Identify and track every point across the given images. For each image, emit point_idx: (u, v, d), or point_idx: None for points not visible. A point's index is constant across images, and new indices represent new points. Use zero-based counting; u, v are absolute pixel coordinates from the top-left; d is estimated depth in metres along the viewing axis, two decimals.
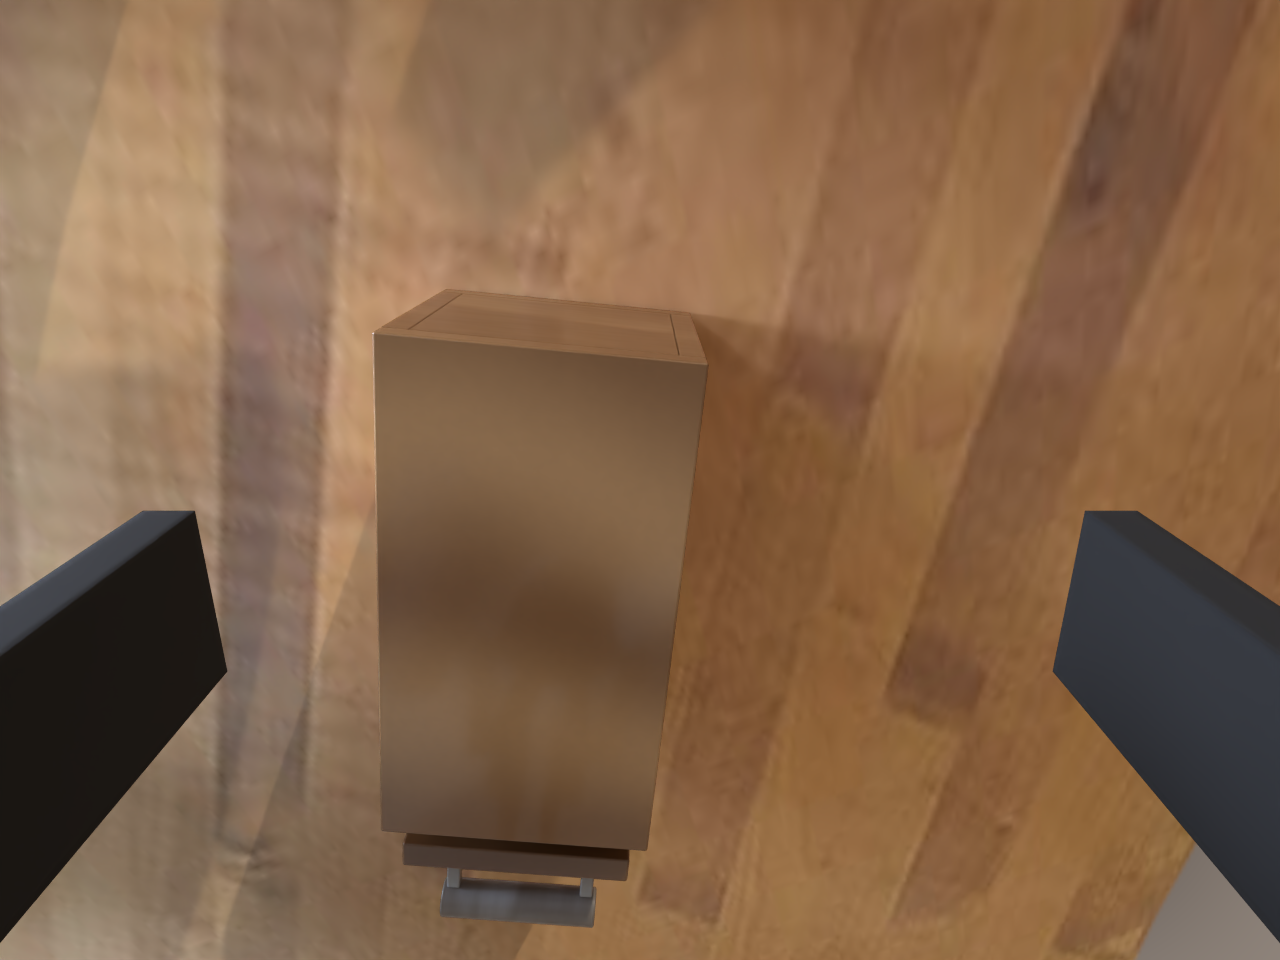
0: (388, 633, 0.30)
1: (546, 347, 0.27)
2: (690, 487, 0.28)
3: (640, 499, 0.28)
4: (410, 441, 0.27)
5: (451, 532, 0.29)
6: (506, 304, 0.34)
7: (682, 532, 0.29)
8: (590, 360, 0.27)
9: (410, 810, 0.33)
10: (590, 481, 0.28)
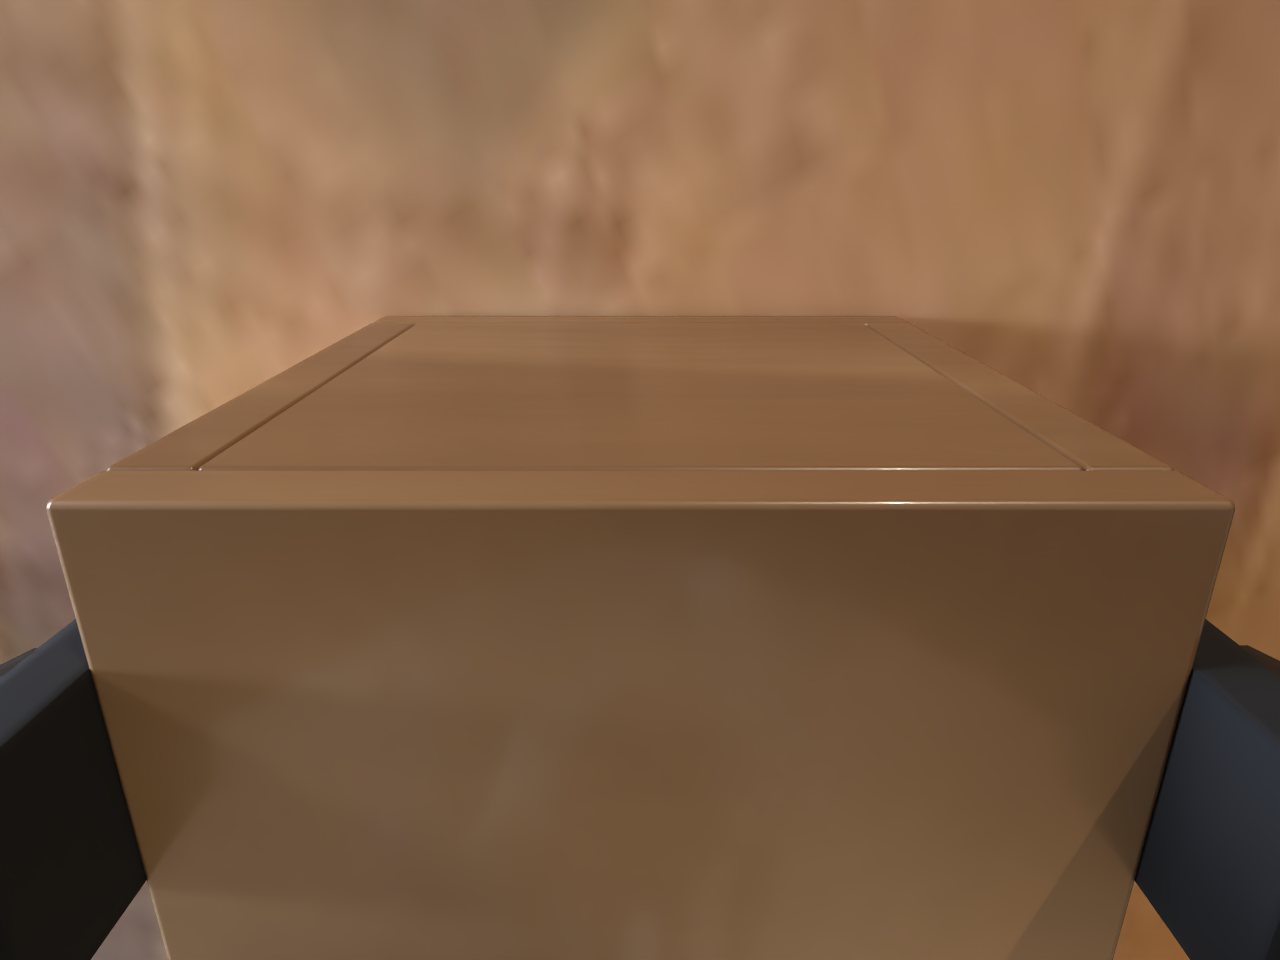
0: None
1: (656, 497, 0.08)
2: (1131, 871, 0.09)
3: (971, 914, 0.09)
4: (241, 817, 0.09)
5: None
6: (511, 339, 0.15)
7: None
8: (815, 529, 0.07)
9: None
10: (815, 880, 0.09)
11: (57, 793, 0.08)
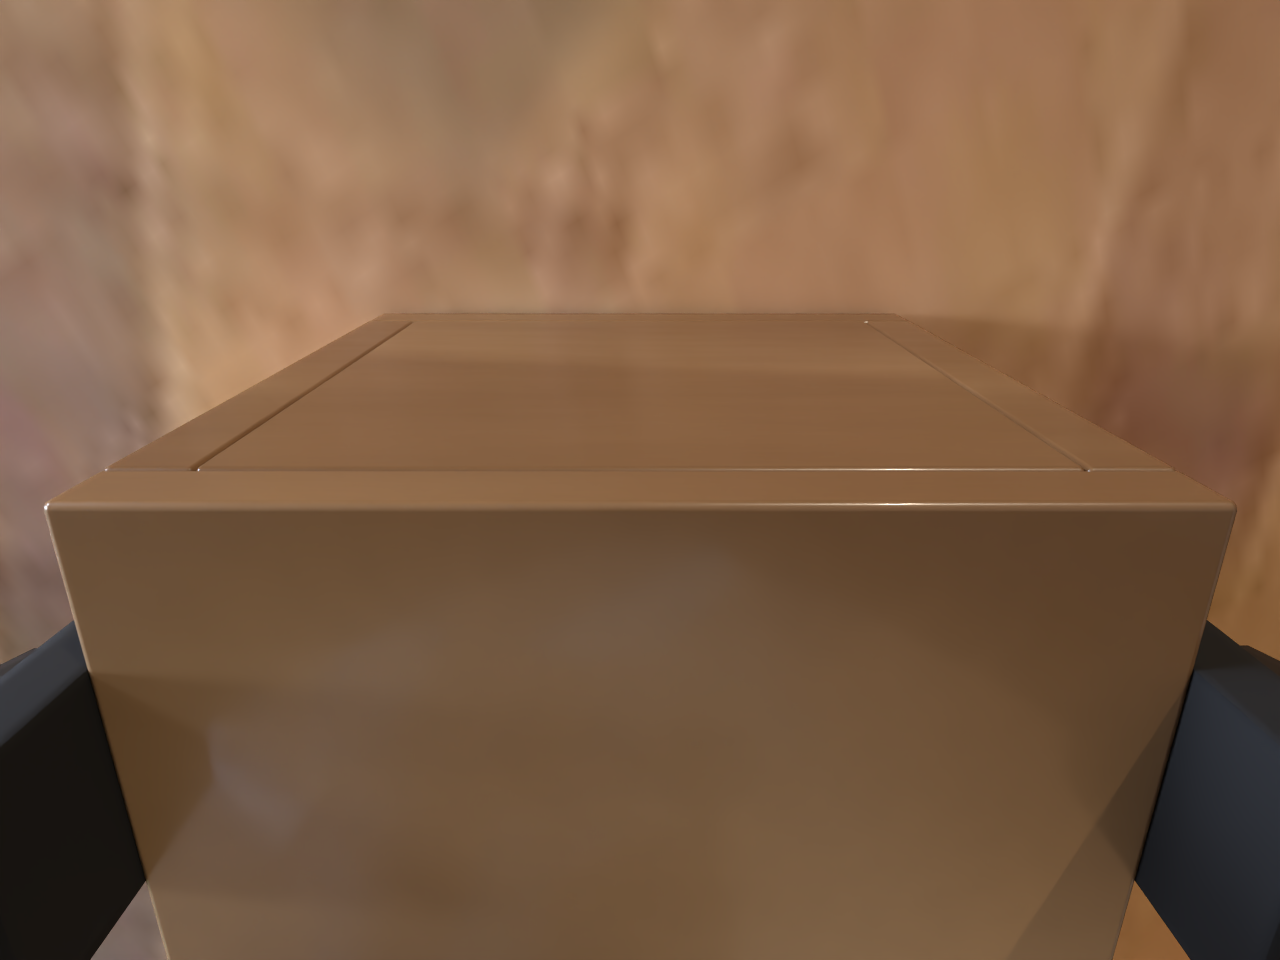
0: None
1: (657, 498, 0.07)
2: (1131, 871, 0.09)
3: (971, 914, 0.09)
4: (241, 818, 0.09)
5: None
6: (510, 337, 0.15)
7: None
8: (816, 530, 0.07)
9: None
10: (816, 880, 0.09)
11: (55, 794, 0.08)
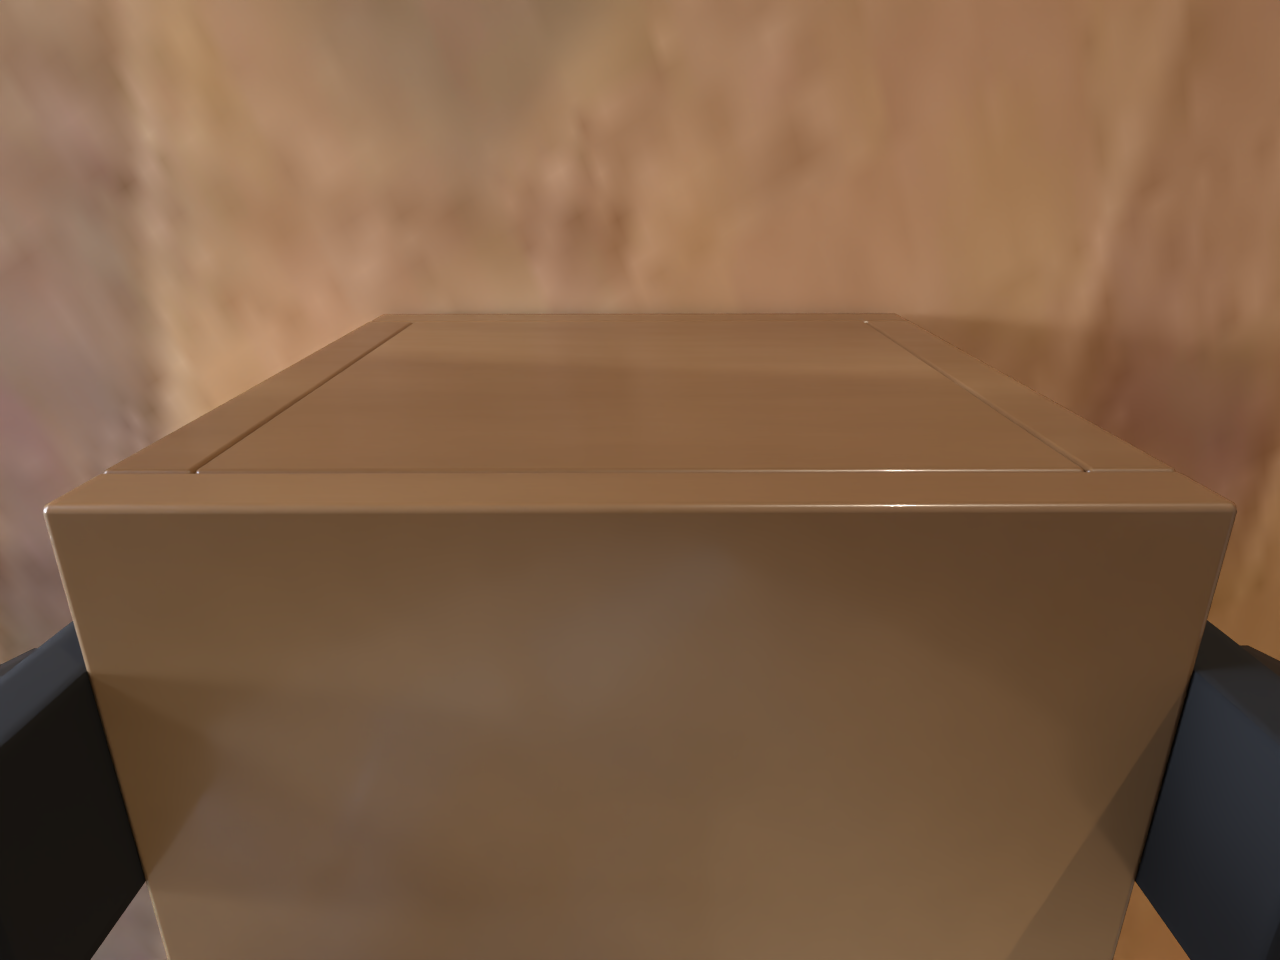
0: None
1: (656, 500, 0.07)
2: (1131, 872, 0.09)
3: (971, 915, 0.09)
4: (241, 820, 0.09)
5: None
6: (509, 337, 0.15)
7: None
8: (815, 531, 0.07)
9: None
10: (815, 882, 0.09)
11: (57, 793, 0.08)
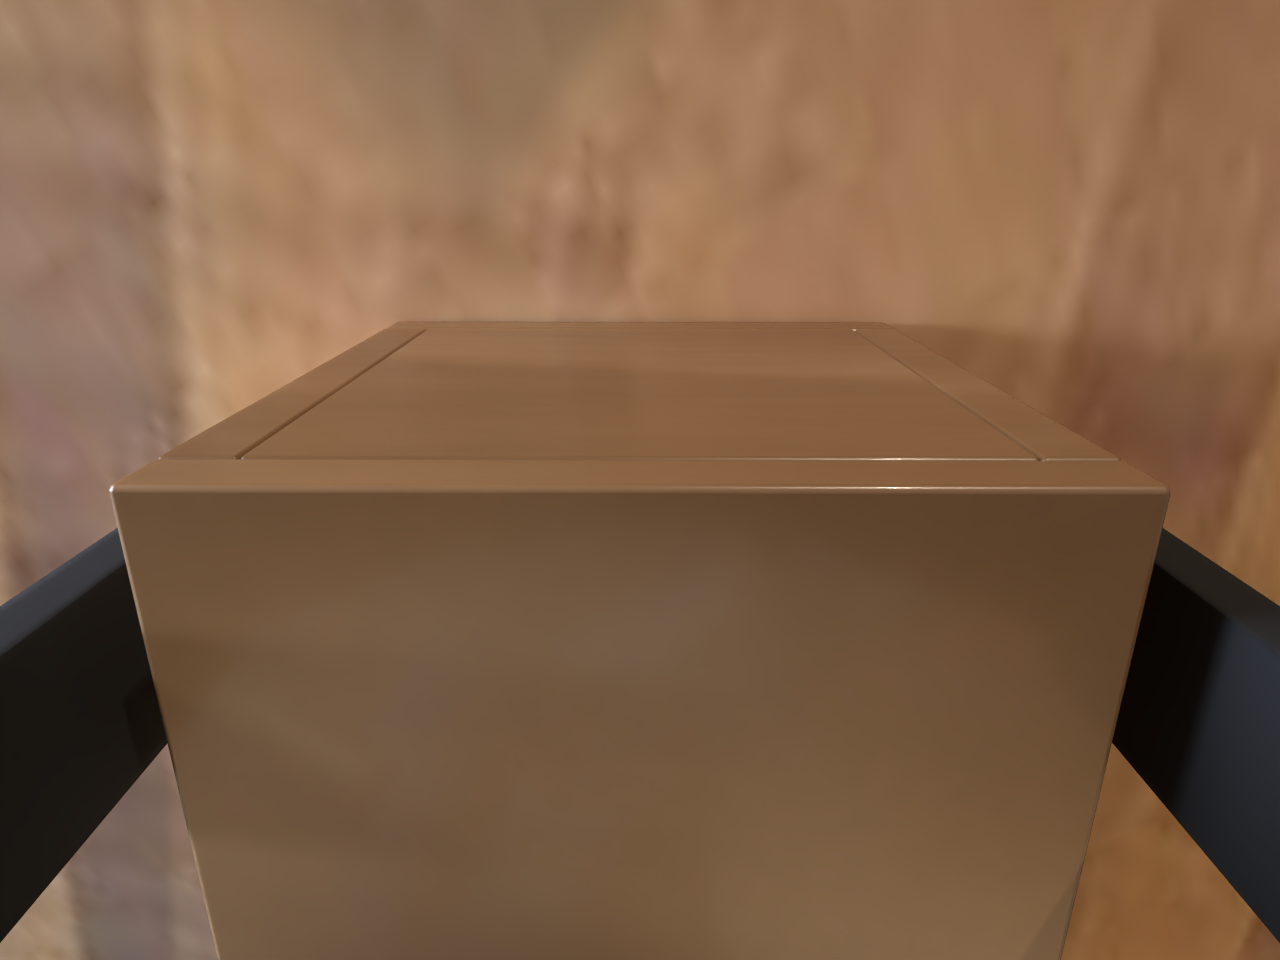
0: None
1: (653, 482, 0.08)
2: (1086, 827, 0.10)
3: (941, 867, 0.10)
4: (277, 775, 0.10)
5: None
6: (518, 343, 0.16)
7: (1055, 935, 0.10)
8: (795, 510, 0.08)
9: None
10: (799, 835, 0.10)
11: None
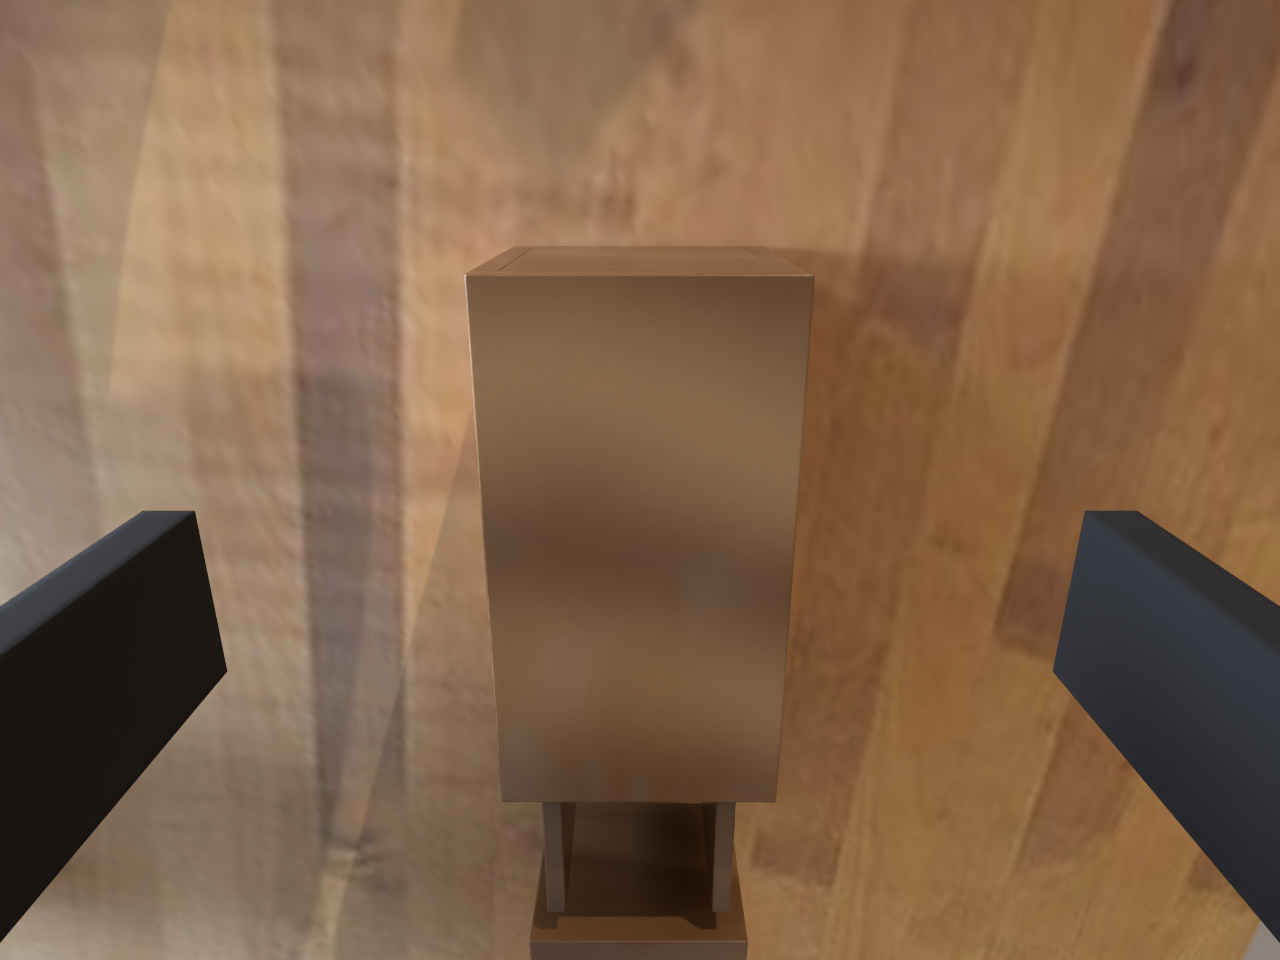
0: (498, 593, 0.29)
1: (644, 273, 0.25)
2: (802, 409, 0.27)
3: (750, 427, 0.27)
4: (509, 387, 0.27)
5: (556, 480, 0.28)
6: (581, 251, 0.33)
7: (796, 458, 0.27)
8: (690, 282, 0.25)
9: (530, 777, 0.32)
10: (697, 413, 0.27)
11: None
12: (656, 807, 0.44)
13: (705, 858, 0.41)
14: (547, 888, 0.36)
